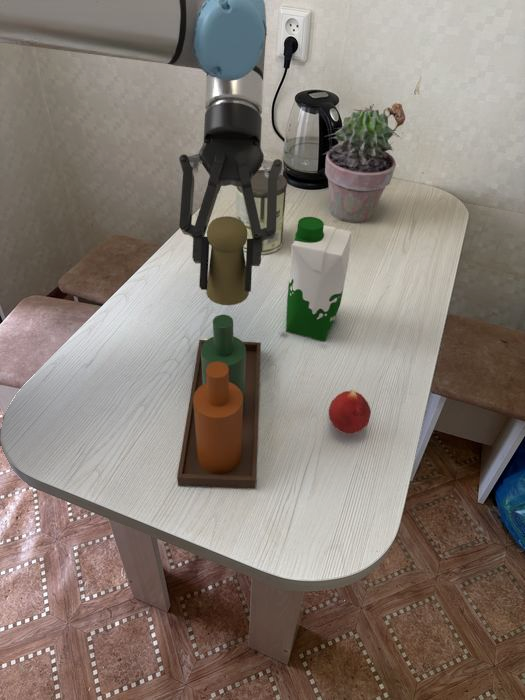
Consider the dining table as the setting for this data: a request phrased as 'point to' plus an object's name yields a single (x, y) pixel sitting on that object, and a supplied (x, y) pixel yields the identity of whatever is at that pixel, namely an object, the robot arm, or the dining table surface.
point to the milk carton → (316, 277)
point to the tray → (247, 468)
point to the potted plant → (361, 163)
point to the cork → (227, 261)
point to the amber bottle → (218, 421)
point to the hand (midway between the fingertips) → (225, 289)
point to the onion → (349, 412)
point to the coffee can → (263, 209)
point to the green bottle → (225, 352)
